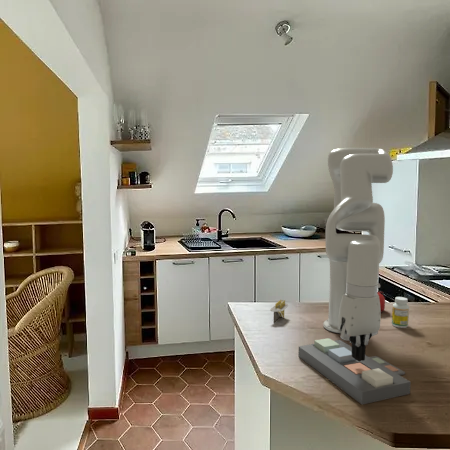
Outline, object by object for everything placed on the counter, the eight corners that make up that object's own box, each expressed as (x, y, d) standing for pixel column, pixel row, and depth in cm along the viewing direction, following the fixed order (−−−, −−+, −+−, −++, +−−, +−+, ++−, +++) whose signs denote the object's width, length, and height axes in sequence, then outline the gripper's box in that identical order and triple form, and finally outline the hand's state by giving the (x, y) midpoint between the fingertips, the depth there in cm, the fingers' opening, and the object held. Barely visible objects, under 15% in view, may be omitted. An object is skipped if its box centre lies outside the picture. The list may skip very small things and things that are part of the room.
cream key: (377, 378, 110) (378, 368, 109) (392, 387, 105) (393, 377, 105) (361, 382, 108) (361, 371, 107) (375, 391, 103) (375, 380, 103)
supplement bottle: (405, 329, 149) (406, 301, 148) (389, 325, 152) (390, 298, 151) (410, 325, 153) (412, 298, 152) (394, 321, 156) (396, 295, 155)
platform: (302, 315, 164) (303, 298, 163) (288, 330, 148) (288, 311, 147) (272, 310, 169) (272, 294, 168) (254, 325, 153) (254, 306, 152)
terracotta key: (359, 372, 116) (359, 362, 116) (372, 380, 112) (372, 370, 111) (343, 375, 114) (344, 365, 114) (355, 384, 110) (356, 373, 109)
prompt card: (376, 357, 126) (376, 355, 126) (405, 374, 116) (405, 371, 116) (362, 360, 124) (362, 357, 124) (389, 377, 114) (389, 374, 114)
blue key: (343, 356, 122) (343, 347, 122) (354, 363, 118) (355, 354, 117) (328, 359, 121) (328, 349, 120) (339, 366, 116) (339, 356, 116)
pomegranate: (379, 306, 174) (380, 283, 173) (389, 314, 164) (391, 290, 163) (354, 306, 174) (355, 283, 172) (363, 314, 164) (364, 290, 163)
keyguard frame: (339, 349, 132) (339, 339, 131) (409, 393, 106) (410, 381, 105) (298, 356, 127) (298, 346, 126) (361, 404, 101) (362, 392, 100)
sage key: (328, 347, 129) (329, 338, 129) (339, 353, 124) (339, 344, 124) (314, 349, 127) (314, 340, 127) (323, 356, 122) (324, 346, 122)
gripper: (375, 282, 116) (372, 348, 119) (327, 288, 111) (324, 357, 114) (396, 290, 110) (391, 360, 112) (345, 297, 104) (342, 370, 107)
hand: (358, 358), depth 113 cm, fingers closed
